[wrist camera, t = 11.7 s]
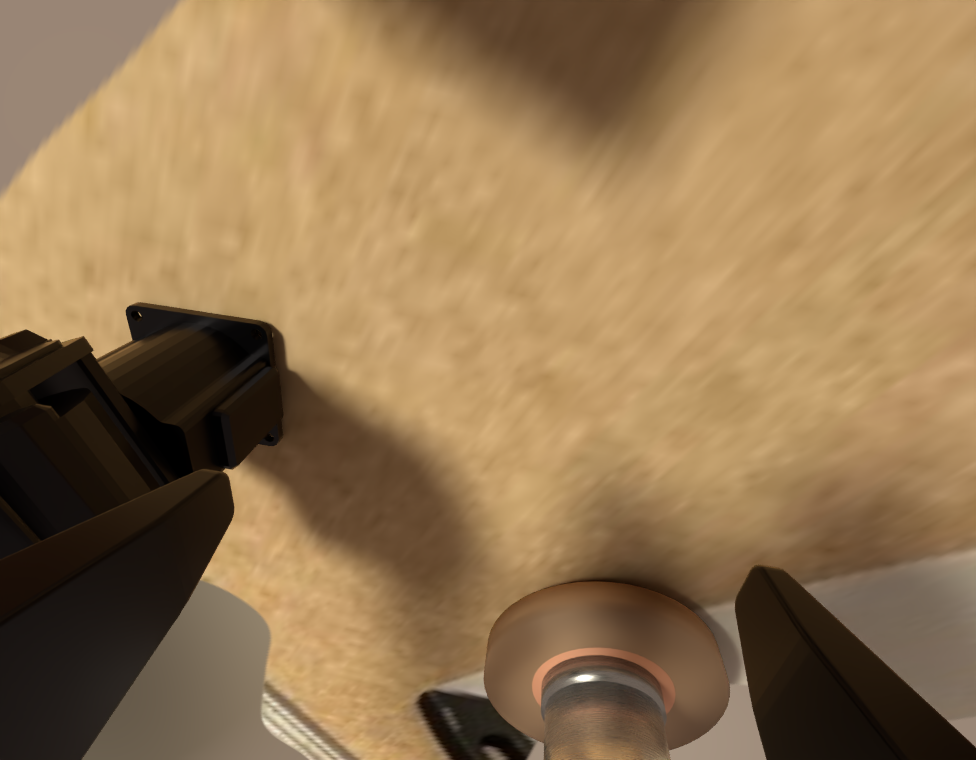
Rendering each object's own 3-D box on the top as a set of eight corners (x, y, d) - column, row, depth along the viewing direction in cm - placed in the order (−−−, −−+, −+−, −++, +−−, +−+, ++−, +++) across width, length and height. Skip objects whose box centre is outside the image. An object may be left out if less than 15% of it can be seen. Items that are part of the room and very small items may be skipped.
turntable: (479, 686, 33) (472, 733, 30) (503, 547, 26) (498, 592, 24) (676, 724, 32) (686, 775, 29) (749, 590, 26) (769, 640, 23)
